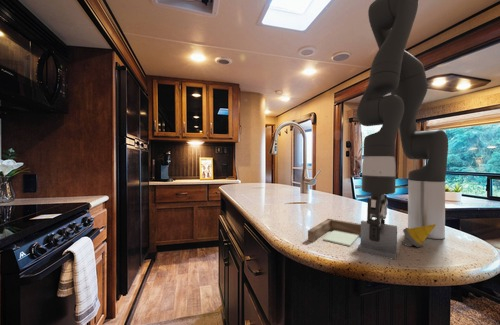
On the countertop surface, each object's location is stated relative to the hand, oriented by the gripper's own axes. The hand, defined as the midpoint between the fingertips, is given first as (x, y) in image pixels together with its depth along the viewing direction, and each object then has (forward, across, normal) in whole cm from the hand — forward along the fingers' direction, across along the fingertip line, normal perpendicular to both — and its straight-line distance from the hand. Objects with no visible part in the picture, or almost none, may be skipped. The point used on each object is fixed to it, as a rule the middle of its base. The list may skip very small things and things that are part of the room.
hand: (377, 236), depth 56 cm
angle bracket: (+4, -1, 0) cm, 4 cm away
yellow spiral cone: (+4, +11, -8) cm, 14 cm away
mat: (+4, +4, +10) cm, 11 cm away
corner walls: (+4, +4, +9) cm, 10 cm away
